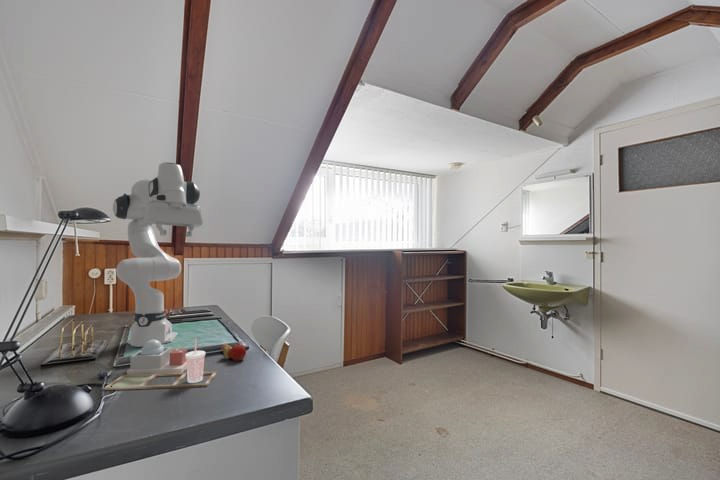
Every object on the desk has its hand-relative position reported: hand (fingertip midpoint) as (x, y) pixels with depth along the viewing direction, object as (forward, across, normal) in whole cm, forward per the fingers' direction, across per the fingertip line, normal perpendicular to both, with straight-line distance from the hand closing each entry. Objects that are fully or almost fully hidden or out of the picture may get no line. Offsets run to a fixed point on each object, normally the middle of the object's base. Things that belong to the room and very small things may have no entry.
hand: (176, 236), depth 128 cm
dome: (+42, +5, -16) cm, 46 cm away
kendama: (+48, -21, -7) cm, 53 cm away
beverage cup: (+52, +1, +5) cm, 53 cm away
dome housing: (+46, +2, -15) cm, 49 cm away
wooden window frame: (+50, +8, -2) cm, 51 cm away
